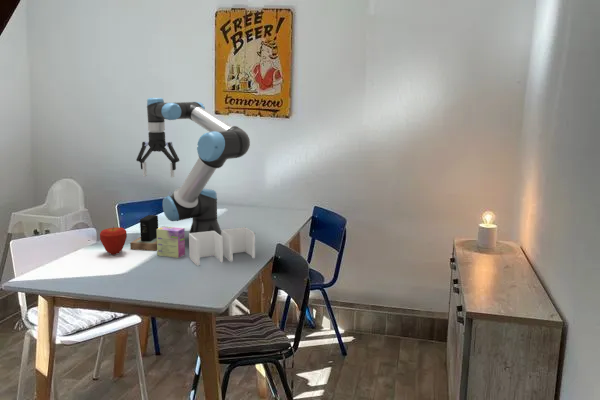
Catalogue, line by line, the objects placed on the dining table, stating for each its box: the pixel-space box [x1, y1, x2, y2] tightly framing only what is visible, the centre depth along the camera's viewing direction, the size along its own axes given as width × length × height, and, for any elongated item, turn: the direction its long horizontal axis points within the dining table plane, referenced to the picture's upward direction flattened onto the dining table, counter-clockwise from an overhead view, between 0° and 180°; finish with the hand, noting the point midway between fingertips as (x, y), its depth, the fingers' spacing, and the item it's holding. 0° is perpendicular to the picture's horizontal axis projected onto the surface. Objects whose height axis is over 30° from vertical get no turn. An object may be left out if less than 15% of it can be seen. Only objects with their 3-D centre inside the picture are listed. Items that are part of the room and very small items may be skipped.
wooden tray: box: [129, 236, 157, 252], centre depth 261 cm, size 12×14×3 cm
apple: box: [99, 226, 128, 256], centre depth 248 cm, size 11×11×12 cm
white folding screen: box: [188, 227, 256, 267], centre depth 243 cm, size 25×11×11 cm, turn 116°
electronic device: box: [139, 214, 159, 241], centre depth 260 cm, size 4×10×10 cm, turn 170°
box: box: [156, 225, 186, 259], centre depth 246 cm, size 10×6×12 cm, turn 71°
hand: (158, 176), depth 274 cm, fingers open, 13 cm apart
